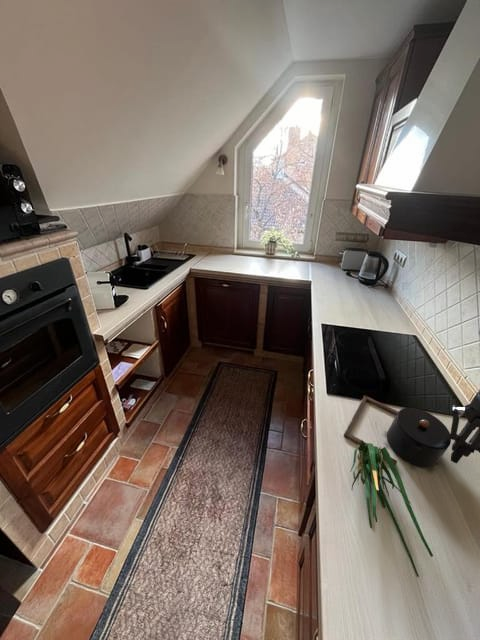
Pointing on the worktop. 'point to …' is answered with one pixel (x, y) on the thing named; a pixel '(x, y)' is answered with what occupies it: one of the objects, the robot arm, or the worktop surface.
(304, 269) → the worktop surface
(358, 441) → the brown bent strip
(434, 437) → the pot
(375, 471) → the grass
